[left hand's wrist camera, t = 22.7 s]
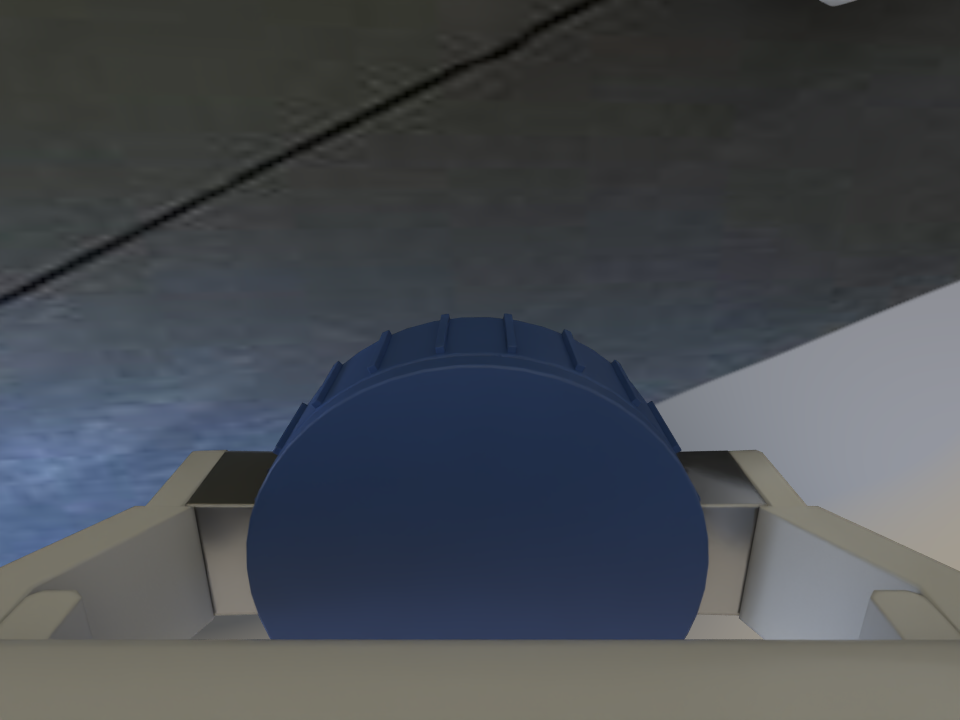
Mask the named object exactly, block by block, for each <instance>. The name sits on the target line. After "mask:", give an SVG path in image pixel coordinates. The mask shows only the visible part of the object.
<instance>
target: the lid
mask: <svg viewBox="0 0 960 720" xmlns="http://www.w3.org/2000/svg"><path fill="white" fill-rule="evenodd" d="M680 451H681V448H680V447H679V445H678V443H677V442H676V440H675V438H674V437H673V435H672V433H671V432H670V430H669V428H668V427H667V425H666V423H665V422H664V420H663V418H662V417H661V415H660V413H659V412H658V410H657V408H656V407H655V405H654V403H653V402H652V401H651V402H649V403H646V401H645V400H644V399H643V397H642V396H641V395H640V393H639V392H638V391H637V389H636V388H635V387H634V385H633V384H632V383H631V382H630V381H629V379H628V377H627V375H626V373H625V372H624V370H623V368H622V366H621V365H620V363H619V362H617V361H616V360H614V361H613V362H612V363H610V362H609V361H607V360H606V359H605V358H603V357H602V356H600V355H599V354H598V353H596V352H595V351H594V350H592V349H590V348H589V347H587V346H585V345H583V344H581V343H579V342H578V341H576V340H574V338H573V336H572V334H571V332H570V331H568V330H565V329H564V331H563V333H562V334H560V333H558V332H555V331H553V330H550V329H547V328H545V327H541V326H537V325H533V324H529V323H525V322H521V321H517V320H513V319H512V315H511V314H504V318H503V319H499V318H491V317H474V318H455V319H450V317H449V314H444V315H441V320H440V321H433V322H430V323H426V324H422V325H419V326H415V327H411V328H407V329H405V330H402V331H400V332H398V333H395V334H393V335H392V334H391V333H390V331H389V330H388V331H386V332H383V333H382V335H381V338H380V340H379V341H378V342H376V343H374V344H372V345H371V346H369V347H367V348H365V349H364V350H362V351H360V352H359V353H357V354H356V355H355V356H354V357H352V358H351V359H350V360H348V361H347V362H346V363H345V364H343V365H342V364H341V363H340V362H339V361H338V362H337V363H336V364H335V365H334V366H333V367H332V369H331V371H330V373H329V374H328V376H327V378H326V379H325V381H324V383H323V385H322V386H321V387H320V389H319V390H318V391H317V393H316V394H315V396H314V397H313V398H312V400H311V401H310V402H309V404H308V405H306V404H304V403H302V404H301V406H300V407H299V409H298V411H297V412H296V414H295V416H294V417H293V419H292V420H291V422H290V424H289V425H288V427H287V429H286V430H285V432H284V433H283V435H282V437H281V438H280V440H279V442H278V443H277V445H276V447H275V448H274V450H273V453H274V454H276V455H278V456H277V458H276V459H275V461H274V463H273V464H272V466H271V468H270V470H269V472H268V474H267V476H266V478H265V480H264V482H263V484H262V485H261V487H260V489H259V491H258V494H257V496H256V498H255V499H254V500H255V503H254V507H253V510H252V513H251V516H250V521H249V528H248V534H247V541H246V559H247V573H248V579H249V585H250V590H251V595H252V598H253V601H254V604H255V607H256V610H257V613H258V616H259V618H260V620H261V622H262V624H263V625H264V628H265V630H266V631H267V633H268V635H269V637H270V639H447V640H451V639H456V640H457V639H458V640H468V639H469V640H684V639H685V638H686V636H687V634H688V632H689V630H690V628H691V626H692V624H693V622H694V620H695V617H696V615H697V613H698V611H699V607H700V604H701V601H702V598H703V594H704V591H705V586H706V579H707V572H708V565H709V548H708V533H707V528H706V523H705V517H704V512H703V509H702V506H701V504H700V501H699V500H701V498H700V496H699V494H698V493H697V491H696V489H695V487H694V485H693V483H692V482H691V480H690V478H689V476H688V474H687V473H686V471H685V469H684V467H683V465H682V463H681V462H680V460H679V458H678V457H677V455H676V453H678V452H680Z"/></svg>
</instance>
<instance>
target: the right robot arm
mask: <svg viewBox="0 0 960 720" xmlns="http://www.w3.org/2000/svg"><path fill="white" fill-rule="evenodd" d="M820 1H821V2H823V3H825V4H827V5H829V6H838V5H842V4H846V3H849V2H853V1H856V0H820Z"/></svg>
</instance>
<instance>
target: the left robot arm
mask: <svg viewBox="0 0 960 720" xmlns="http://www.w3.org/2000/svg"><path fill="white" fill-rule="evenodd" d="M676 455H677V457H678V458H679V460H680V462H681V463H682V465H683V467H684V469H685V471H686V473H687V474H688V476H689V478H690V480H691V482H692V483H693V485H694V487H695V489H696V491H697V493H698V494H699V496H700V498H701V500H699V501H700V504H701V506H702V509H703V512H704V517H705V523H706V528H707V533H708V548H709V565H708V572H707V579H706V586H705V591H704V594H703V598H702V601H701V604H700V607H699V611H698V613H697V614H701V615H738V616H739V619H741V620H742V621H743V622H744V623H745V624H746V625H748V626H749V627H750V628H751V629H752V630H754V631H755V632H756V633H757V634H758V635H759V636H761V637H762V638H763V639H764V640H469V639H468V640H458V639H457V640H456V639H451V640H447V639H191V638H192V637H193V636H194V635H195V634H196V633H198V632H199V631H200V630H201V629H202V628H204V627H205V626H206V625H207V624H208V623H210V622H211V621H212V620H213V619H214V616H216V615H251V614H258V613H257V610H256V607H255V604H254V601H253V598H252V595H251V590H250V585H249V579H248V573H247V559H246V541H247V534H248V528H249V521H250V516H251V513H252V510H253V507H254V503H255V500H254V499H255V498H256V496H257V494H258V491H259V489H260V487H261V485H262V484H263V482H264V480H265V478H266V476H267V474H268V472H269V470H270V468H271V466H272V464H273V463H274V461H275V459H276V458H277V456H278V455H276V454H274V453H273V452H270V451H227V450H210V451H194V452H192V453H191V454H190V455H189V456H188V457H187V458H186V460H185V461H184V462H183V463H182V464H181V465H180V467H179V468H178V469H177V470H176V471H175V472H174V474H173V475H172V476H171V477H170V478H169V479H168V481H167V482H166V483H165V484H164V485H163V486H162V488H161V489H160V490H159V491H158V492H157V493H156V495H155V496H154V497H153V498H152V499H151V500H150V502H149V503H148V504H147V505H146V506H134V507H132V508H130V509H128V510H125V511H123V512H121V513H119V514H117V515H114V516H112V517H110V518H108V519H106V520H103V521H101V522H99V523H97V524H95V525H92V526H90V527H88V528H86V529H84V530H81V531H79V532H77V533H75V534H73V535H70V536H68V537H66V538H64V539H62V540H59V541H57V542H55V543H53V544H51V545H49V546H46V547H44V548H42V549H40V550H38V551H35V552H33V553H31V554H29V555H27V556H24V557H22V558H20V559H18V560H16V561H13V562H11V563H9V564H7V565H5V566H2V567H0V720H960V571H958V570H955V569H953V568H951V567H949V566H947V565H945V564H942V563H940V562H938V561H936V560H934V559H932V558H929V557H927V556H925V555H923V554H921V553H918V552H916V551H914V550H912V549H910V548H908V547H905V546H903V545H901V544H899V543H897V542H895V541H892V540H890V539H888V538H886V537H884V536H882V535H879V534H877V533H875V532H873V531H871V530H869V529H866V528H864V527H862V526H860V525H858V524H856V523H853V522H851V521H849V520H847V519H845V518H843V517H840V516H838V515H836V514H834V513H832V512H829V511H827V510H825V509H823V508H821V507H819V506H807V505H806V504H805V503H804V501H803V500H802V499H801V498H800V497H799V496H798V494H797V493H796V492H795V491H794V490H793V488H792V487H791V486H790V485H789V484H788V482H787V481H786V480H785V479H784V478H783V477H782V475H781V474H780V473H779V472H778V471H777V469H776V468H775V467H774V466H773V465H772V464H771V462H770V461H769V460H768V459H767V458H766V456H765V455H764V454H763V453H762V452H760V451H757V450H743V451H693V452H678V453H676Z"/></svg>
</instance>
